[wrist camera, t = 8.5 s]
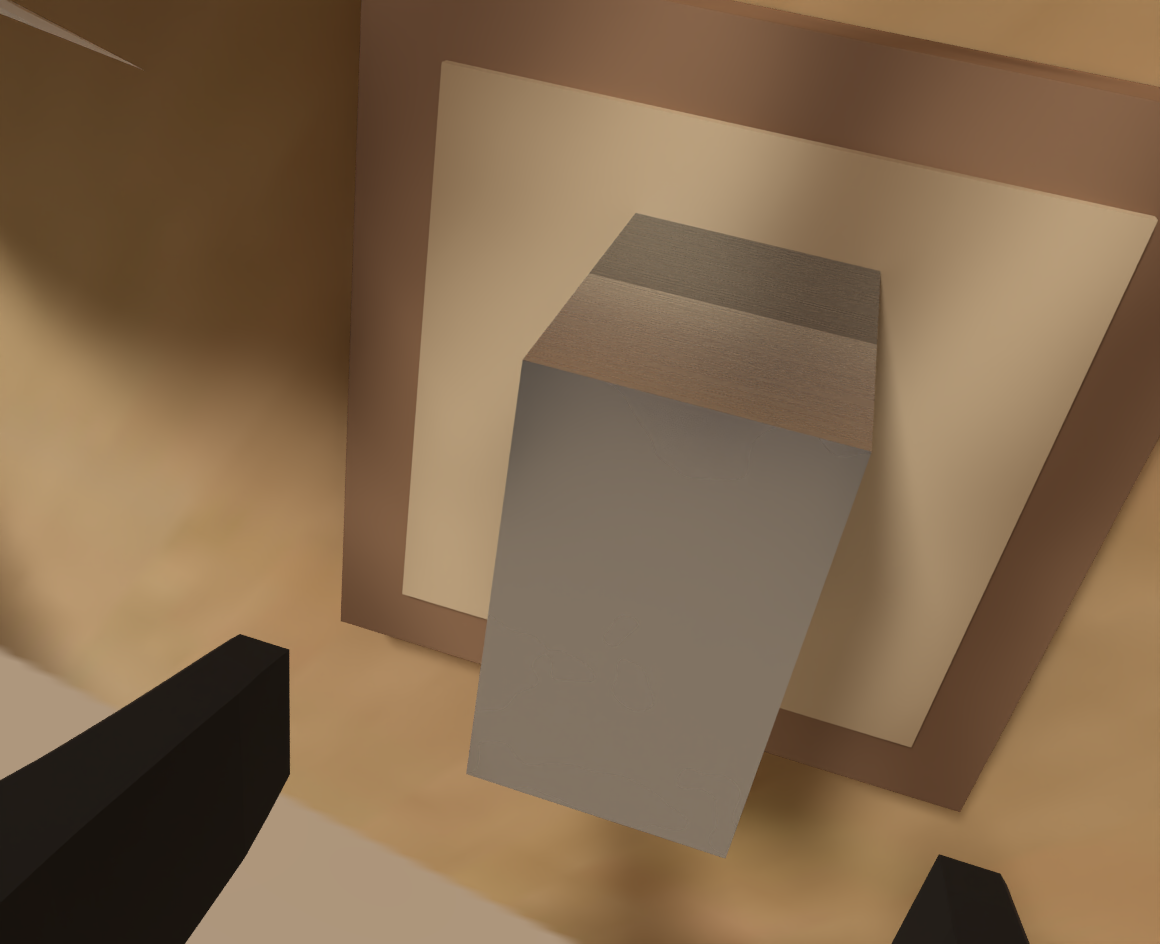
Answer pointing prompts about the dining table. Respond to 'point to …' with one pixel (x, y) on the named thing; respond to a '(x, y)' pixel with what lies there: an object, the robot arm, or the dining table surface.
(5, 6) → the cat head
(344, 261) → the dining table surface
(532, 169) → the walnut picture frame
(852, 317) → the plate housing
